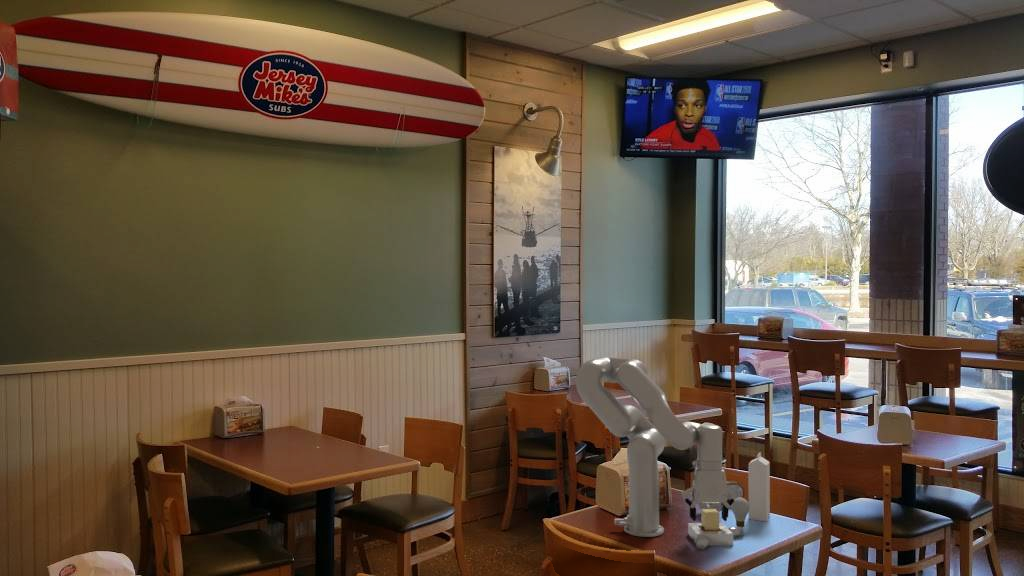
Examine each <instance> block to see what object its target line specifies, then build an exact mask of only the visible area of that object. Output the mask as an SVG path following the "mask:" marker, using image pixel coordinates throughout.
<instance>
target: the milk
mask: <svg viewBox="0 0 1024 576" xmlns="http://www.w3.org/2000/svg"><path fill="white" fill-rule="evenodd" d="M770 464H771V462H770V461H769V460H768V459H766V458H764V457H762V452H759V453H758V454H757V455H756V457H755V458H754V459H752V460H751V461H749V463H748V467H747V468H748V479H747V480H748V483H747V484H748V487H747V489H748V491H747V492H748V503H749V506H750V510H749V512H748V520H753V521H760V522H761V521H762V522H768V520H769V519H770V517H771V515H770V514H771V513H770V512H771V510H770V509H771V508H770V506H771V503H770V502H771V501H770V500H771V497H770V496H771V495H770V494H771V493H770V492H771V487H770V485H771V482H770V480H771V479H770V478H771V477H770V476H771V474H770V473H771V472H770V471H771V470H770V468H771V467H770V466H771V465H770ZM768 518H769V519H768Z"/></svg>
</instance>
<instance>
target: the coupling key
mask: <svg viewBox="0 0 1024 576" xmlns="http://www.w3.org/2000/svg"><path fill="white" fill-rule="evenodd" d="M700 510H701V511H700V512H701V513H700V515H701V522H700V523H701V529H702V531H703V532H704V531H719V523H720V511H719V512H718V511H717V510H716V509H700Z"/></svg>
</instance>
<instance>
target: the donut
mask: <svg viewBox="0 0 1024 576" xmlns="http://www.w3.org/2000/svg"><path fill="white" fill-rule="evenodd" d="M697 505H698V507H699V509H700V510H701V509H716V510H717V511H718V512H719V513H720V511H721V509H722V505H721V503H711V504H709V503H699V502H698V503H697Z"/></svg>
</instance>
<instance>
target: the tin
mask: <svg viewBox="0 0 1024 576" xmlns="http://www.w3.org/2000/svg"><path fill="white" fill-rule="evenodd" d="M726 483H727V488H728V489H730V490H732V491H734V492H736V493H737V497H736V498H739V497H741V498H744V497H745V490H744V487H743V486H742V485H741V484H740V483H739V482H738V481H736V480H726ZM730 496H731V495H730V494H729V493H727V500H728V499H729V498H730ZM744 499H745V498H744ZM708 504H709V505H711V503H708ZM721 506H723V503H721Z"/></svg>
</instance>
